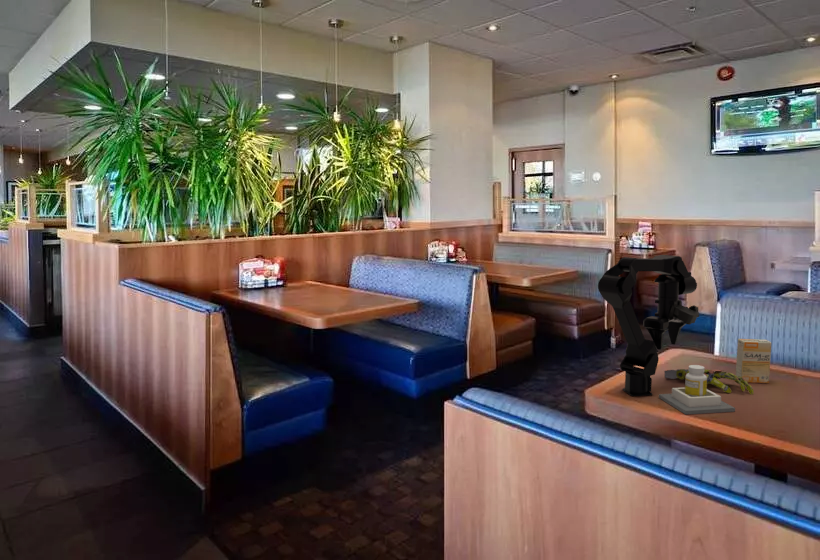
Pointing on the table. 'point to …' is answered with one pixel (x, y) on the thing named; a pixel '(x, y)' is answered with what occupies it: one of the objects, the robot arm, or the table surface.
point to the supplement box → (753, 360)
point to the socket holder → (696, 402)
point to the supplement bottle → (696, 381)
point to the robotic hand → (712, 378)
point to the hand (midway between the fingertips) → (666, 346)
